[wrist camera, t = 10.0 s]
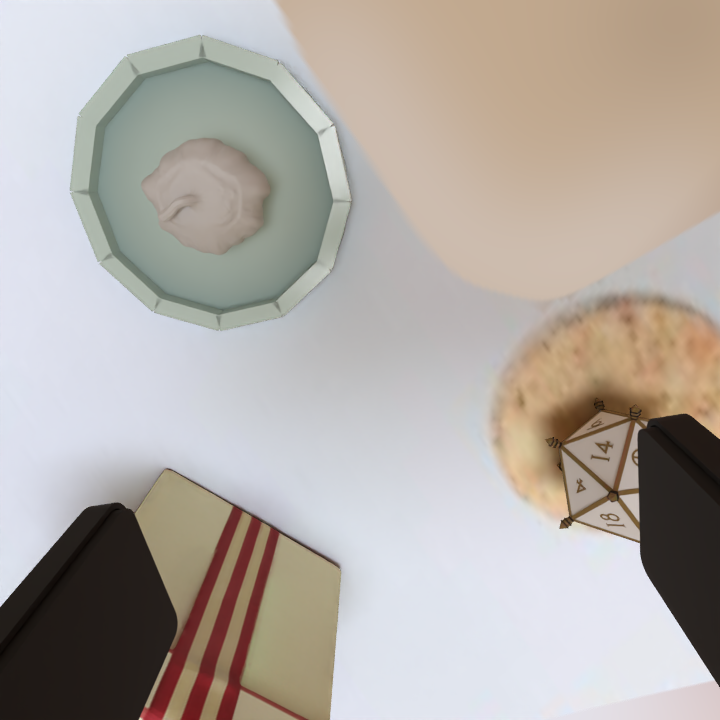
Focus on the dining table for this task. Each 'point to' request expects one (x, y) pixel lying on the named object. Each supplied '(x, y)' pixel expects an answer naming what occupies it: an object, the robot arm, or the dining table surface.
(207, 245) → the garlic
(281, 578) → the gift box
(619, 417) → the game die
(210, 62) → the plate
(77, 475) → the dining table surface
